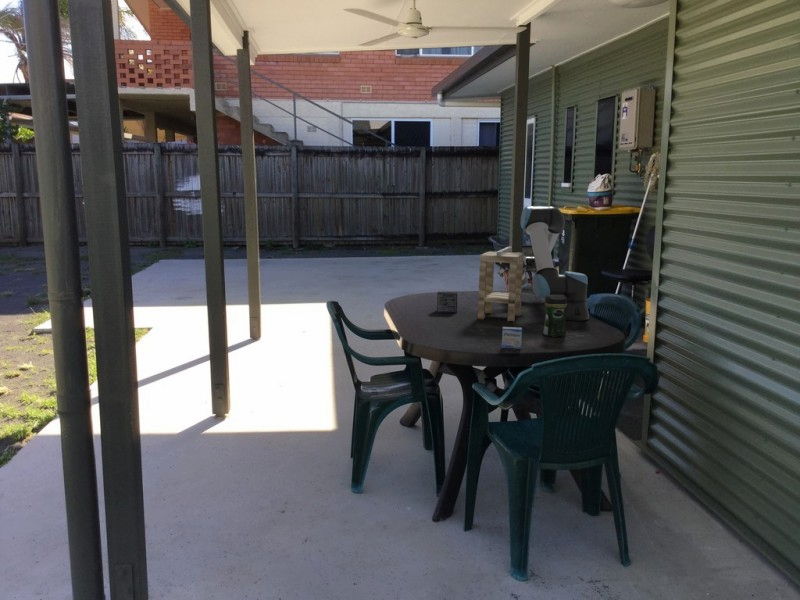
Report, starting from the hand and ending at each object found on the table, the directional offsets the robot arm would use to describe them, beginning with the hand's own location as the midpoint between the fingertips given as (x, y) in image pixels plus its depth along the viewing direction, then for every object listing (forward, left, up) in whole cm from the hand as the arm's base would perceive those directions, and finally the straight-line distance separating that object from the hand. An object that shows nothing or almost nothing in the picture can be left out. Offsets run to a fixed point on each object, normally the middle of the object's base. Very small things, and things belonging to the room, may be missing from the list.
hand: (511, 257), depth 354 cm
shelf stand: (-10, +22, -28) cm, 37 cm away
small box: (+16, +33, -28) cm, 46 cm away
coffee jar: (-51, +35, -28) cm, 68 cm away
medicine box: (-52, +68, -28) cm, 90 cm away
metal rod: (-8, +17, +4) cm, 19 cm away
